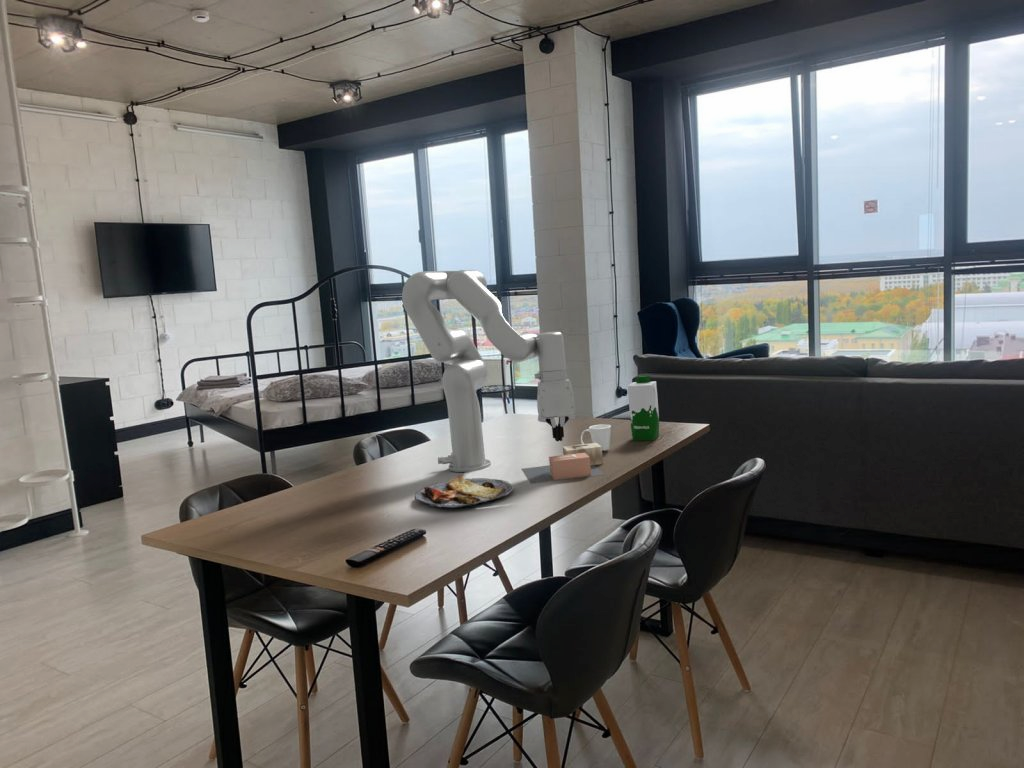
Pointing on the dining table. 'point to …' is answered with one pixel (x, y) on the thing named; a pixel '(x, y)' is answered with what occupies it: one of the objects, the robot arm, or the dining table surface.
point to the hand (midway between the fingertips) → (558, 440)
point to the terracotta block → (570, 466)
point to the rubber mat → (544, 475)
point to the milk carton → (643, 409)
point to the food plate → (463, 491)
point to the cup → (599, 435)
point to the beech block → (590, 449)
